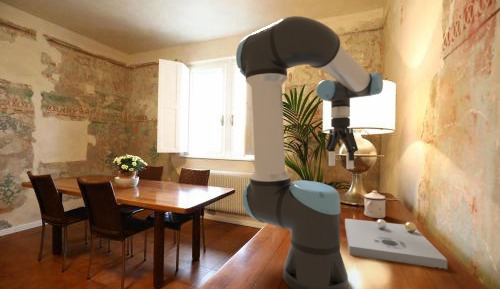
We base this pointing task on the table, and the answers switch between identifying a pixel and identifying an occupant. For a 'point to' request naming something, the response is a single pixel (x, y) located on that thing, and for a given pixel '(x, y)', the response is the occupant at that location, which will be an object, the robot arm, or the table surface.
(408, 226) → the brass ball
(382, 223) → the steel ball
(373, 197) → the teacup with lid
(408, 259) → the plate
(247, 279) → the table surface
